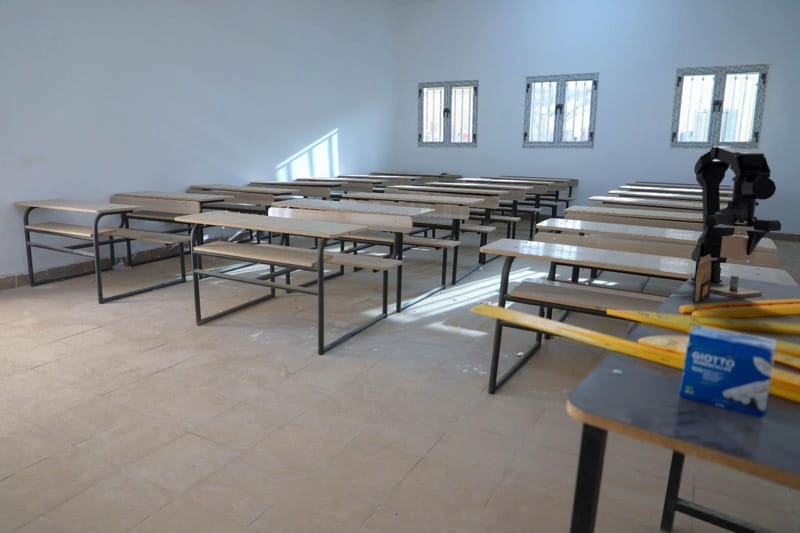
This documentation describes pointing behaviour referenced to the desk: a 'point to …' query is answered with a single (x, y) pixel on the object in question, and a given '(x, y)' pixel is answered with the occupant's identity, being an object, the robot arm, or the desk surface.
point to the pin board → (735, 293)
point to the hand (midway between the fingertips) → (737, 253)
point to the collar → (735, 248)
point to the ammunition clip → (703, 280)
